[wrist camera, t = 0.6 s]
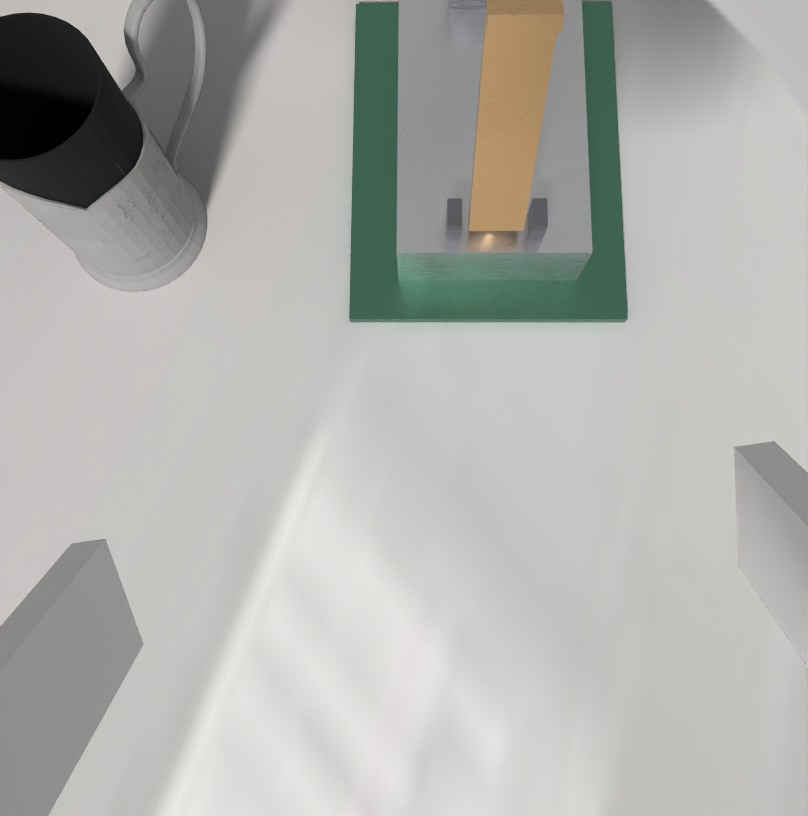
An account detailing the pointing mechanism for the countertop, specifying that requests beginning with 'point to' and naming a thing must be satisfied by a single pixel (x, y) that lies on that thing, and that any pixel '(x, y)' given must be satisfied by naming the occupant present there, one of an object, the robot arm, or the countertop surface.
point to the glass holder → (97, 152)
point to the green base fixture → (452, 174)
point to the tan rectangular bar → (510, 108)
